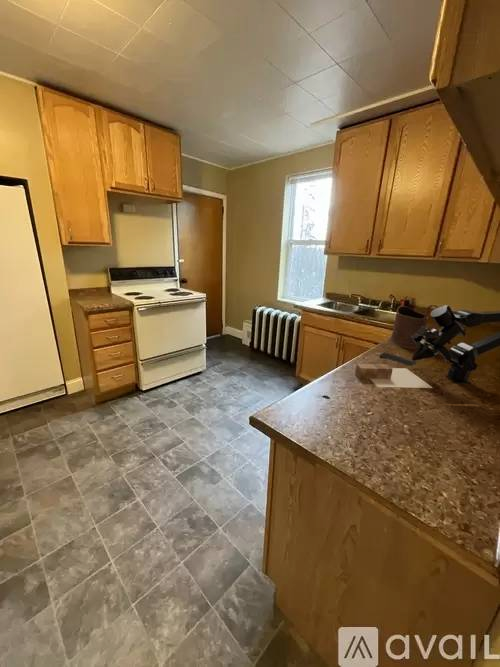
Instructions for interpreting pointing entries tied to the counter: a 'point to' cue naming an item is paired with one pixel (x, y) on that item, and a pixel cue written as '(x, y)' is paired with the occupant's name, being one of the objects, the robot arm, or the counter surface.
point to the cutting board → (401, 380)
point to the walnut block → (373, 371)
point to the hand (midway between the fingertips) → (412, 359)
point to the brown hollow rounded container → (408, 326)
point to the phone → (397, 359)
